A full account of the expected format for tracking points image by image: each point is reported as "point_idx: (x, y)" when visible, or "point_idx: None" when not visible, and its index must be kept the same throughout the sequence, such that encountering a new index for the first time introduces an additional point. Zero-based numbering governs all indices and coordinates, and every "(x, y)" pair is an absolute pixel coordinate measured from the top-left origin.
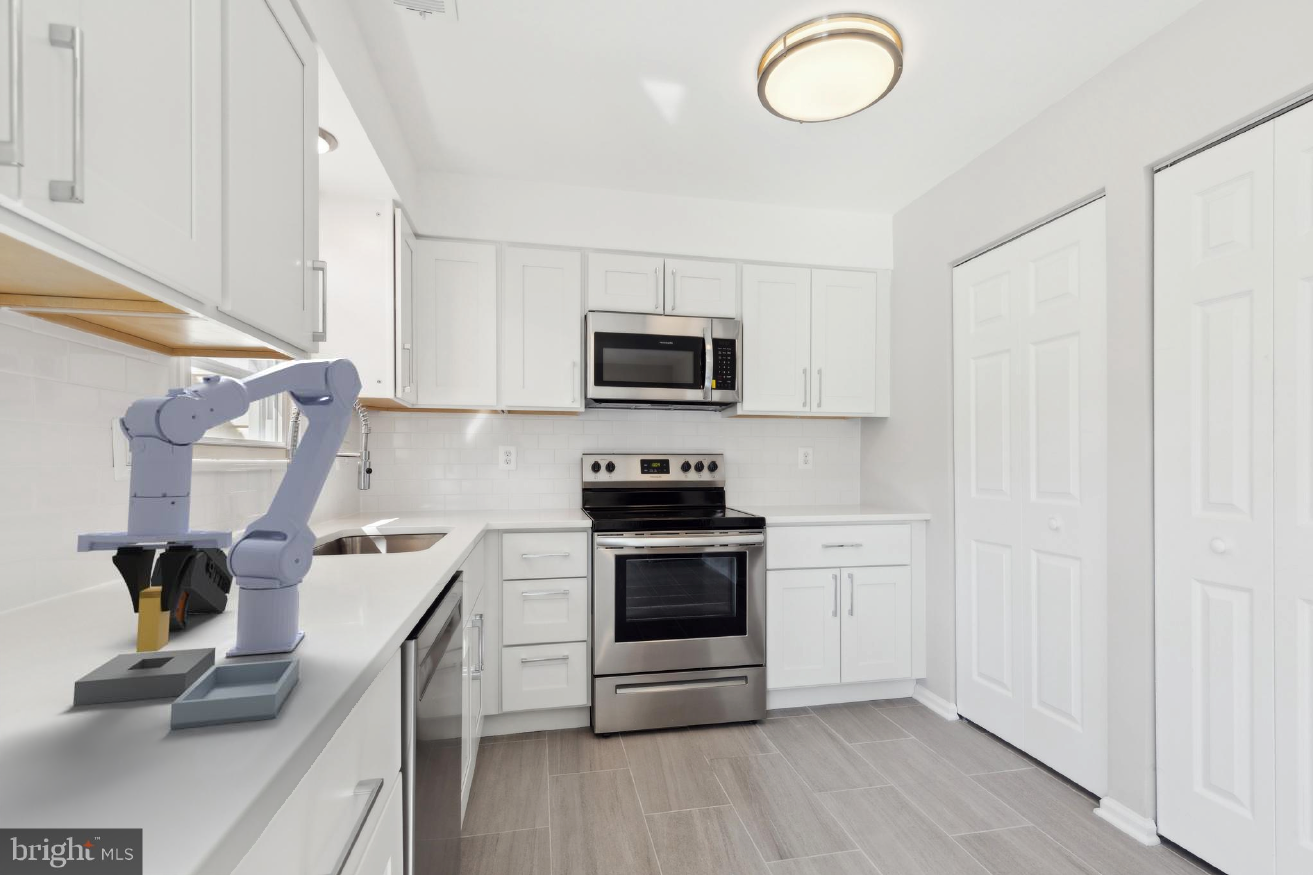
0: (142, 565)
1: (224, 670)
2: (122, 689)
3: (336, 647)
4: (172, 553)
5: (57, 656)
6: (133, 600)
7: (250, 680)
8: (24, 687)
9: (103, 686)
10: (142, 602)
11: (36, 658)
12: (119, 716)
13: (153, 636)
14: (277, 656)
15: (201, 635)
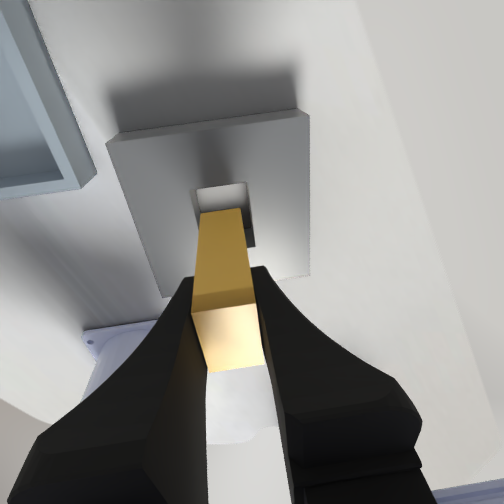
0: (279, 409)
1: (53, 178)
2: (223, 122)
3: (21, 347)
4: (58, 476)
5: (414, 331)
6: (271, 283)
7: (15, 175)
8: (410, 217)
9: (257, 120)
10: (243, 280)
11: (436, 326)
12: (171, 15)
13: (209, 228)
14: (94, 315)
15: (272, 393)
